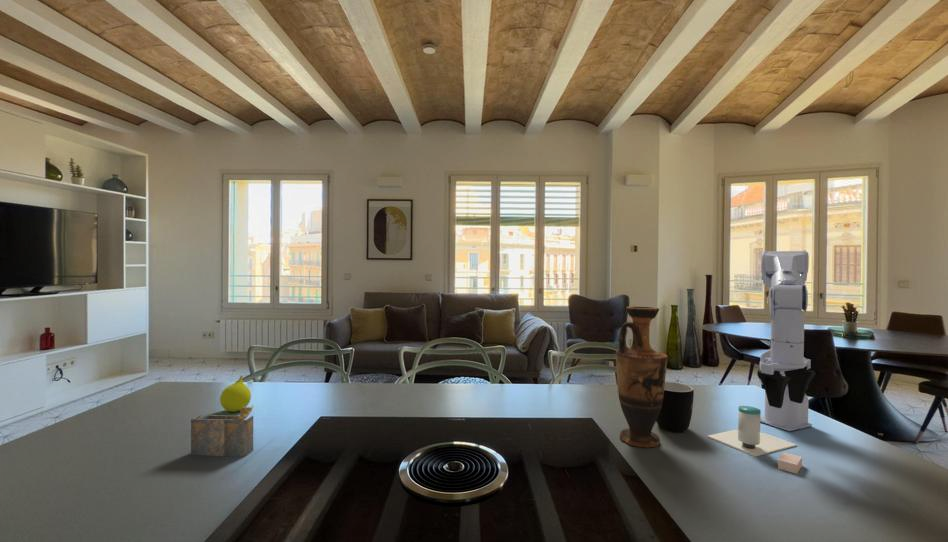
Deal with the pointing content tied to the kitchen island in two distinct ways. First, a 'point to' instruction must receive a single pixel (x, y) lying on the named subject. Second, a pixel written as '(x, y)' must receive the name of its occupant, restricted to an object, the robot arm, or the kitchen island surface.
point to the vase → (640, 379)
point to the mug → (676, 407)
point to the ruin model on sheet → (222, 434)
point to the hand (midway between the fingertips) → (785, 404)
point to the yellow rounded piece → (235, 396)
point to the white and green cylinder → (749, 426)
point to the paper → (765, 446)
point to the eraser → (790, 462)
